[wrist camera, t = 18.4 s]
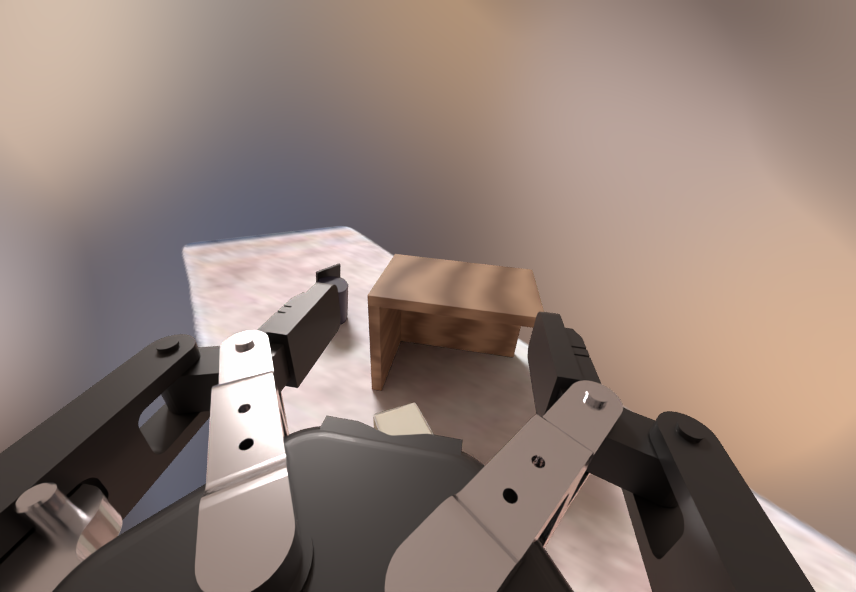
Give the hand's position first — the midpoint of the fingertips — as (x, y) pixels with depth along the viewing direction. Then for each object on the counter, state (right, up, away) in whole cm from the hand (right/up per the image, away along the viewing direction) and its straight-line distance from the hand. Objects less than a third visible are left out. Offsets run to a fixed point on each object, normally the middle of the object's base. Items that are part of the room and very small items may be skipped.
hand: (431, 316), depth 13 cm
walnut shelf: (+3, -11, +41) cm, 42 cm away
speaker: (-19, -4, +52) cm, 56 cm away
